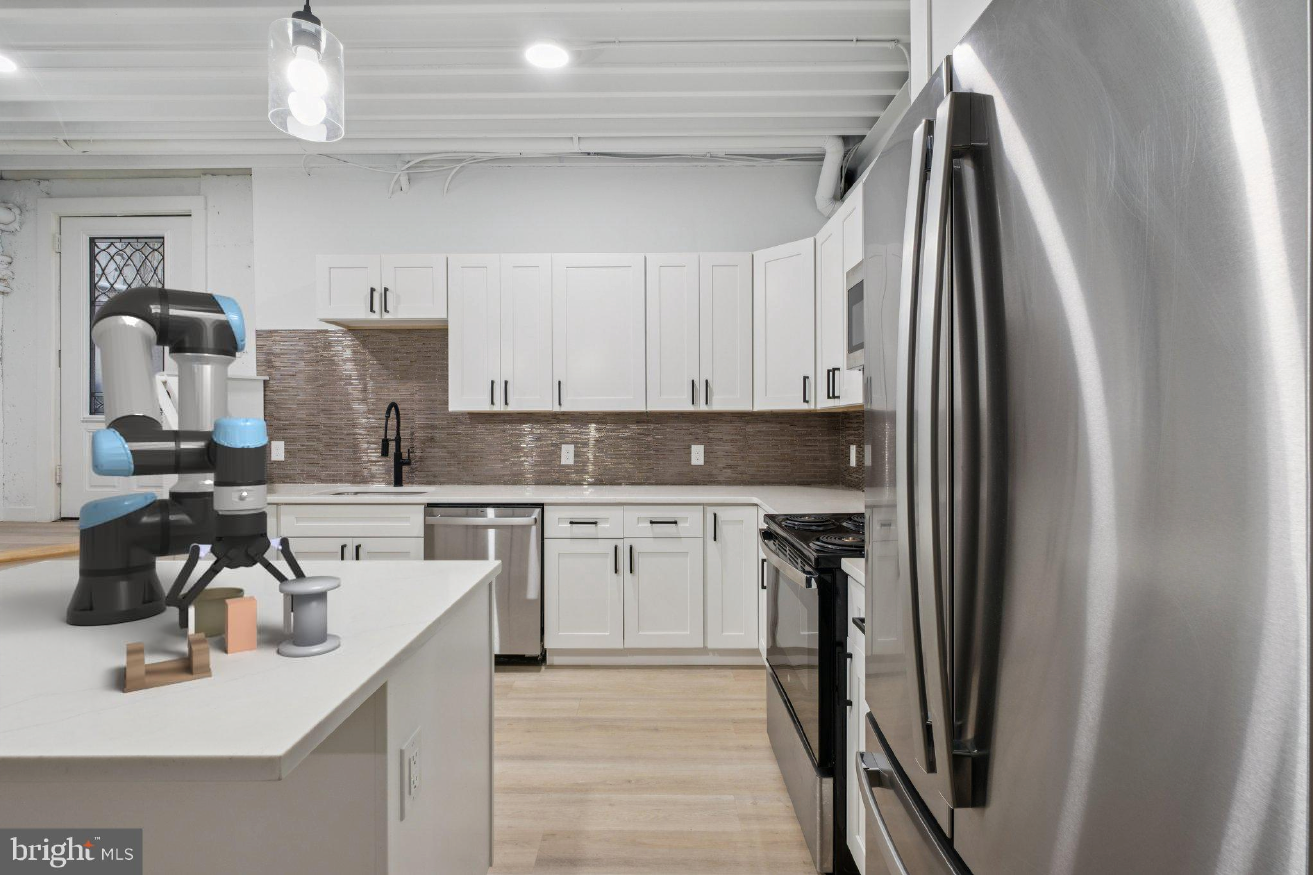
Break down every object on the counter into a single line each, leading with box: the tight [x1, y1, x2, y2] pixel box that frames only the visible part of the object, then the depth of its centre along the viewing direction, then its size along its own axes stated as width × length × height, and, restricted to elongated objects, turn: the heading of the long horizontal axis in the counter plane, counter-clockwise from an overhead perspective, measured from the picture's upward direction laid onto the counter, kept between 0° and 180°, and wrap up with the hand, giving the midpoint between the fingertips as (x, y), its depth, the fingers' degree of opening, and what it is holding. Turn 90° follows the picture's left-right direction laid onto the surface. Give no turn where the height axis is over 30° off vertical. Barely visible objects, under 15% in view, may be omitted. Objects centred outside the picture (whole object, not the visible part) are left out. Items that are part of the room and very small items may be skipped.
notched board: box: [123, 632, 213, 694], centre depth 97 cm, size 10×10×4 cm
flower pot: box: [178, 586, 245, 638], centre depth 117 cm, size 10×10×7 cm
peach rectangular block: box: [224, 595, 258, 655], centre depth 109 cm, size 4×4×8 cm
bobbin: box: [278, 575, 341, 658], centre depth 109 cm, size 9×9×11 cm
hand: (241, 639), depth 109 cm, fingers open, 13 cm apart
